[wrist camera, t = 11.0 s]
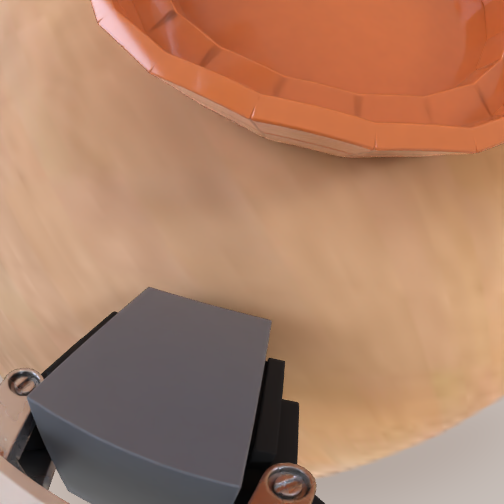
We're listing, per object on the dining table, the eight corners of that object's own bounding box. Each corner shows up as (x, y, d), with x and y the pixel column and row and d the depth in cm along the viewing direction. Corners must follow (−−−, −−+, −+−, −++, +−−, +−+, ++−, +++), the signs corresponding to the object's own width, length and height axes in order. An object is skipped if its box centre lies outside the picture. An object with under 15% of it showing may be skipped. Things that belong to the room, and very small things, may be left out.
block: (143, 379, 12) (67, 490, 6) (148, 286, 11) (24, 396, 4) (245, 410, 11) (211, 547, 5) (272, 319, 10) (241, 487, 4)
